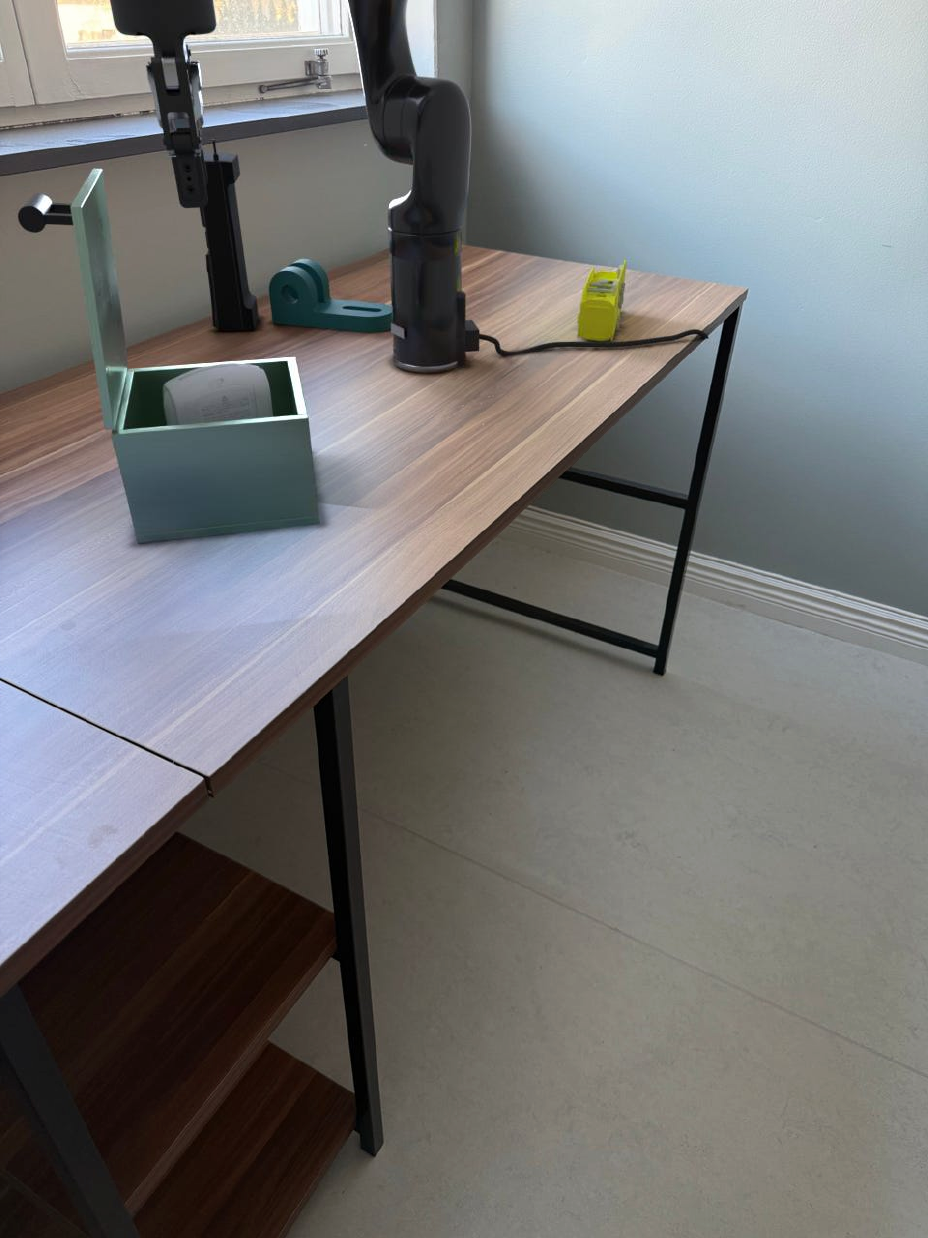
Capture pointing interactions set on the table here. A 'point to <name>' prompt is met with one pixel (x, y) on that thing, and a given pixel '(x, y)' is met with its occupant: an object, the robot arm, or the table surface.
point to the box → (215, 460)
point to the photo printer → (217, 395)
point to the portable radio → (226, 247)
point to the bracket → (320, 302)
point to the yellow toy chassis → (601, 304)
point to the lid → (92, 280)
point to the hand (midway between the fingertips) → (195, 195)
